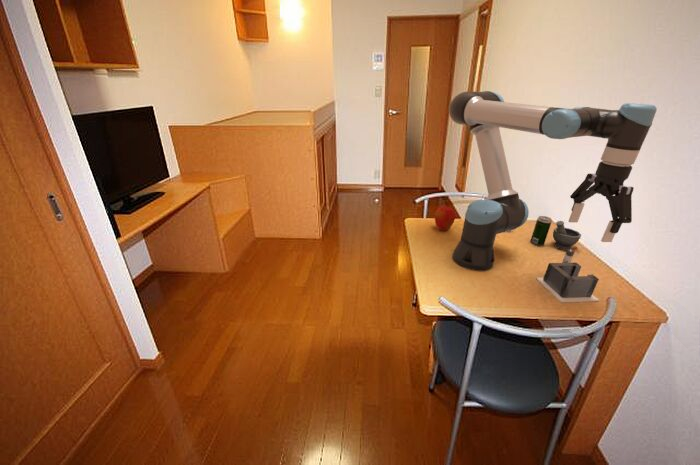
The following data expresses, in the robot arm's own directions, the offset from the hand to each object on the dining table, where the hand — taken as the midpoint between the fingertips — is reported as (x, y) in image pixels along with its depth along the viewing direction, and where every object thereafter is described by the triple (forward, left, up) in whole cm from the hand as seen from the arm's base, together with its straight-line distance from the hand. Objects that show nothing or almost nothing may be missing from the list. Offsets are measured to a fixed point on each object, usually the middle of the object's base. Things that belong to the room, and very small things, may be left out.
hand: (588, 231), depth 99 cm
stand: (+8, +12, -22) cm, 26 cm away
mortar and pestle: (+20, +30, -22) cm, 42 cm away
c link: (0, 0, -21) cm, 21 cm away
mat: (0, 0, -22) cm, 22 cm away
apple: (-26, +48, -22) cm, 59 cm away
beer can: (+11, +33, -22) cm, 41 cm away
